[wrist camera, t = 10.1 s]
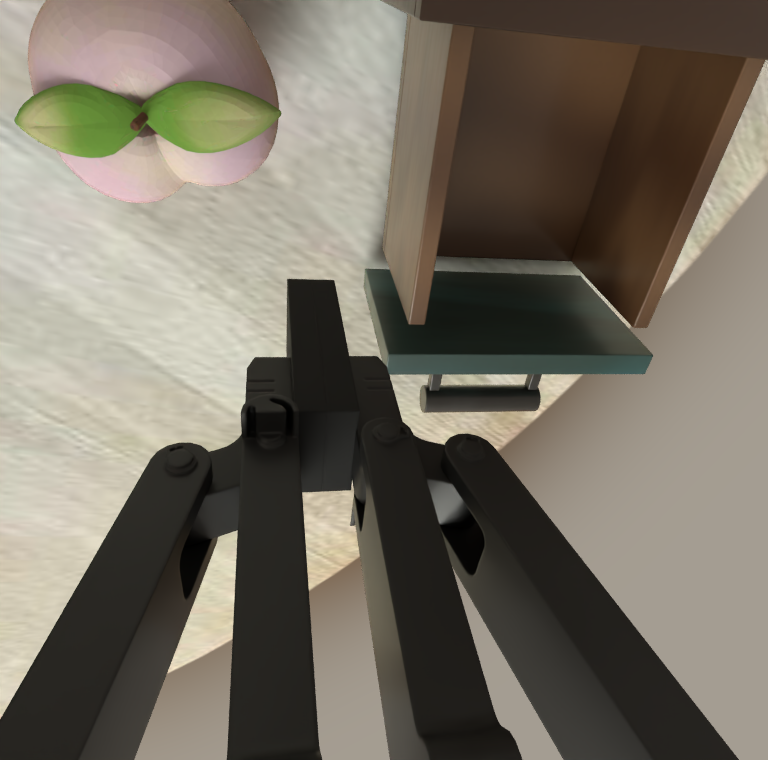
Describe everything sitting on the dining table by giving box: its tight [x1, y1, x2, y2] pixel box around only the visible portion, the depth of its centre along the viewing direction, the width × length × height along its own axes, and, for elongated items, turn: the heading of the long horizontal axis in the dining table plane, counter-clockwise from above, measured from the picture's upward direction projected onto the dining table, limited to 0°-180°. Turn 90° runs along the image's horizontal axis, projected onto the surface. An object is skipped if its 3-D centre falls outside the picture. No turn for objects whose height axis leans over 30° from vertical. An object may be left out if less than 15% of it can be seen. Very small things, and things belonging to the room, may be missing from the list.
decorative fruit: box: [15, 0, 281, 203], centre depth 23 cm, size 9×8×10 cm
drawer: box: [364, 14, 765, 413], centre depth 28 cm, size 22×14×9 cm, turn 174°
